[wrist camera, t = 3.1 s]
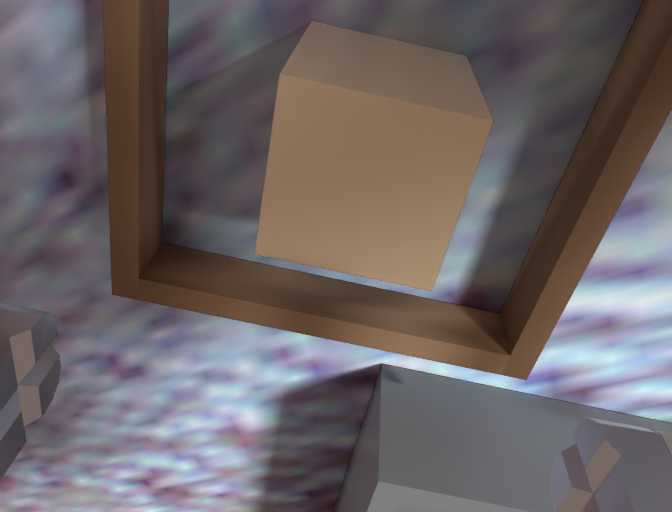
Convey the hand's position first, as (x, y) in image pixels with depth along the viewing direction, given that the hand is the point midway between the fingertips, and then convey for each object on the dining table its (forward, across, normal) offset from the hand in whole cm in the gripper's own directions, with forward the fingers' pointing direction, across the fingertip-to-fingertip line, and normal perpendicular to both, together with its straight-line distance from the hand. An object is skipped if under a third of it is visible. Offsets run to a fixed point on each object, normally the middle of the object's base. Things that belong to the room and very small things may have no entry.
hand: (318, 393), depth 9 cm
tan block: (+13, -1, 0) cm, 13 cm away
